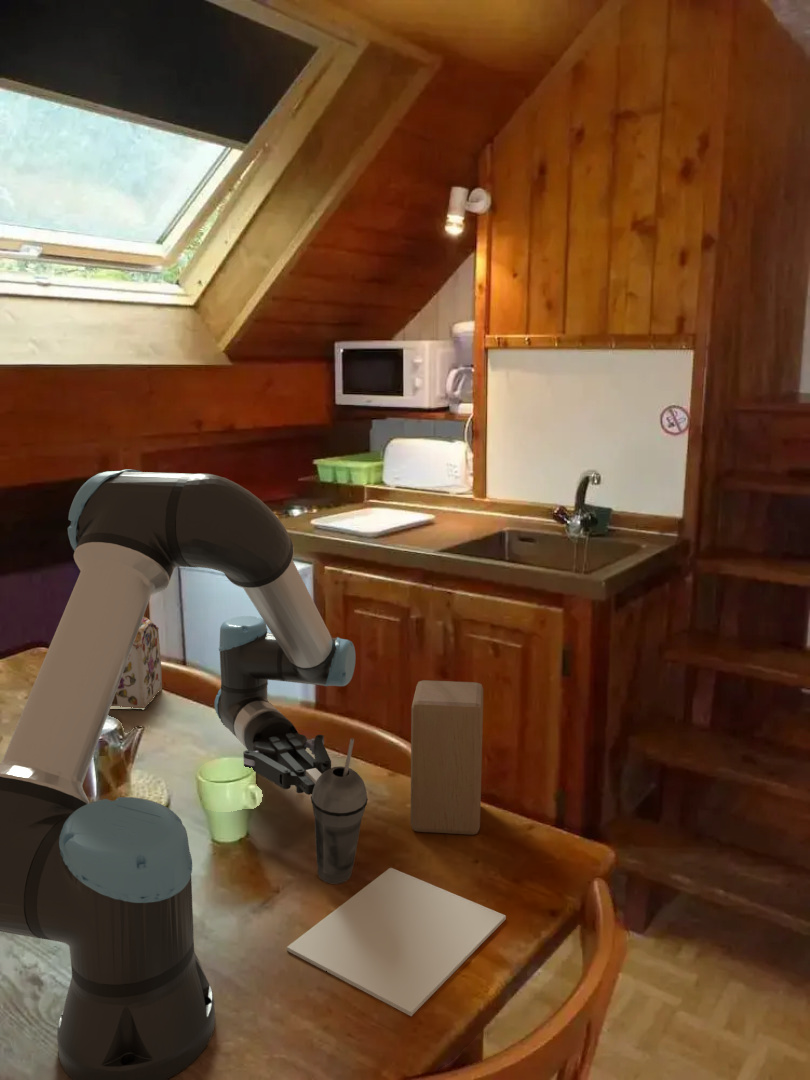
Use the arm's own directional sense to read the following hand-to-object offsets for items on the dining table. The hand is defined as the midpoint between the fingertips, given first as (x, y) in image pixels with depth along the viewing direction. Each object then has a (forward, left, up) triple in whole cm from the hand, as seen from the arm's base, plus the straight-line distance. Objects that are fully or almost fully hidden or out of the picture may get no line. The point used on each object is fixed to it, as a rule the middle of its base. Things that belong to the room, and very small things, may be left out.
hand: (330, 797), depth 116 cm
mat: (-6, -16, -10) cm, 20 cm away
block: (+20, -6, -10) cm, 23 cm away
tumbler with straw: (-1, -2, -10) cm, 10 cm away
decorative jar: (+21, +71, -10) cm, 75 cm away
